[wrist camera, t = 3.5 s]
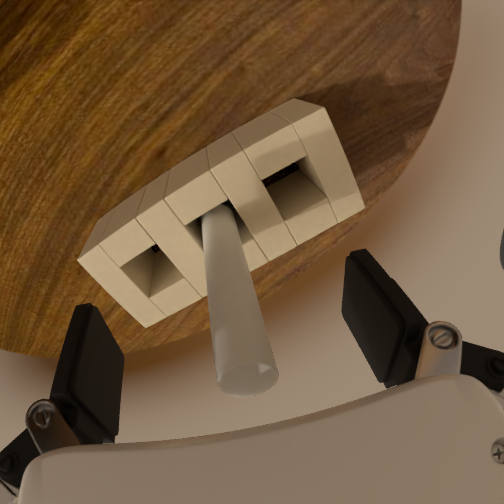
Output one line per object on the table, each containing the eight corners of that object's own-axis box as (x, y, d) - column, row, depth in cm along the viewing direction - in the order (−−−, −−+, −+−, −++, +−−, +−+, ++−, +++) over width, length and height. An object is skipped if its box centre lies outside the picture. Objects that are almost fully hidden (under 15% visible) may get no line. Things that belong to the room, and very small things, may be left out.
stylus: (225, 180, 20) (278, 356, 8) (229, 206, 21) (280, 391, 9) (197, 185, 20) (210, 369, 8) (202, 211, 21) (222, 402, 9)
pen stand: (294, 97, 18) (325, 106, 13) (331, 178, 21) (365, 207, 17) (97, 219, 20) (76, 260, 15) (151, 281, 23) (145, 328, 19)
